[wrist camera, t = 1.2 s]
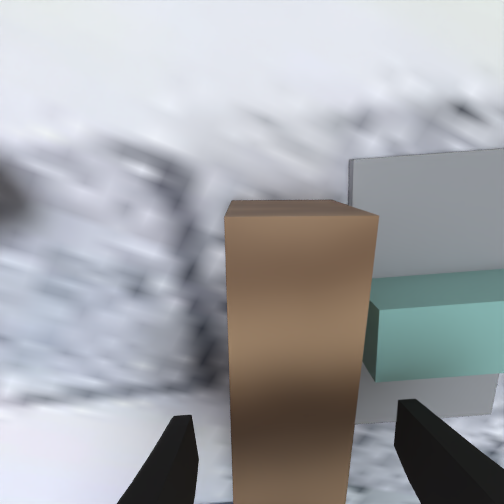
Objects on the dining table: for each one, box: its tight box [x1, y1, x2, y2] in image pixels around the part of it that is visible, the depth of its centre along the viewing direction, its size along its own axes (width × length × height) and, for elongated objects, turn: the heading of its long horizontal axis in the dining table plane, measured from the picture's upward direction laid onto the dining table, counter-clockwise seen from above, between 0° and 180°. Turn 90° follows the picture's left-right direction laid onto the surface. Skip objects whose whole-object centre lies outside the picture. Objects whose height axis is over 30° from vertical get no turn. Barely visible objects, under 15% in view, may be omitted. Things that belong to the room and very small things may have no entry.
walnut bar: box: [224, 200, 379, 504], centre depth 13 cm, size 15×4×5 cm, turn 0°
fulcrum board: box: [349, 149, 504, 425], centre depth 13 cm, size 14×8×4 cm, turn 4°
